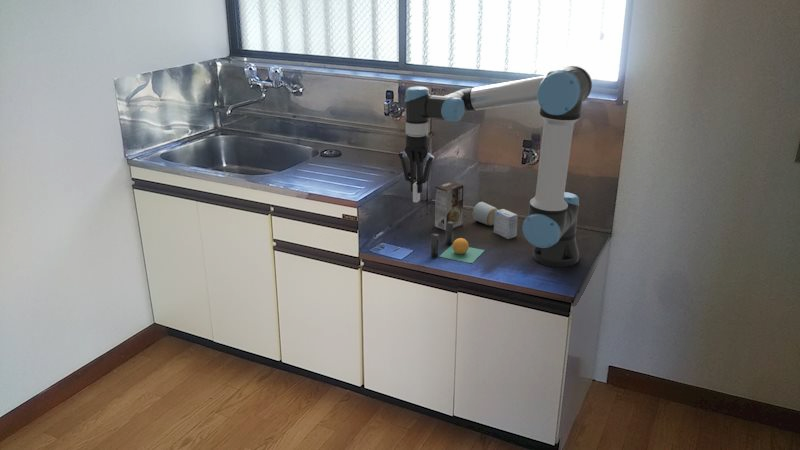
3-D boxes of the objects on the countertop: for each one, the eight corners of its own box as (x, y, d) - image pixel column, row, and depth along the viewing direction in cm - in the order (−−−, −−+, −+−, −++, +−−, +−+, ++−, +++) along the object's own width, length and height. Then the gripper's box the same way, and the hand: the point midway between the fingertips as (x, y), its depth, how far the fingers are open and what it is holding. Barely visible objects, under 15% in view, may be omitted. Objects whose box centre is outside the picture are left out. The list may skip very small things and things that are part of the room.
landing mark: (484, 250, 236) (484, 250, 236) (472, 263, 226) (472, 263, 226) (452, 244, 241) (452, 244, 241) (438, 256, 231) (438, 256, 231)
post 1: (439, 255, 232) (440, 234, 229) (436, 258, 230) (436, 236, 227) (432, 254, 233) (433, 232, 230) (429, 257, 231) (429, 235, 228)
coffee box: (450, 220, 263) (451, 180, 257) (463, 224, 258) (464, 184, 253) (434, 226, 257) (434, 185, 251) (446, 231, 253) (447, 189, 247)
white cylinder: (487, 228, 255) (488, 209, 252) (471, 222, 261) (472, 203, 258) (506, 222, 262) (507, 203, 259) (490, 216, 267) (491, 198, 265)
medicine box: (516, 237, 247) (518, 214, 244) (507, 239, 245) (509, 217, 242) (502, 230, 254) (503, 208, 250) (493, 232, 251) (494, 210, 248)
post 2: (454, 242, 242) (454, 221, 239) (451, 245, 240) (451, 224, 237) (447, 241, 243) (447, 220, 241) (444, 244, 241) (444, 223, 238)
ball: (468, 253, 235) (473, 240, 233) (461, 259, 231) (467, 245, 228) (454, 246, 237) (459, 233, 234) (447, 251, 233) (452, 238, 230)
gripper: (439, 133, 226) (438, 200, 235) (404, 129, 232) (404, 195, 241) (430, 138, 220) (429, 207, 229) (394, 134, 226) (394, 201, 234)
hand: (416, 201), depth 235 cm, fingers closed
